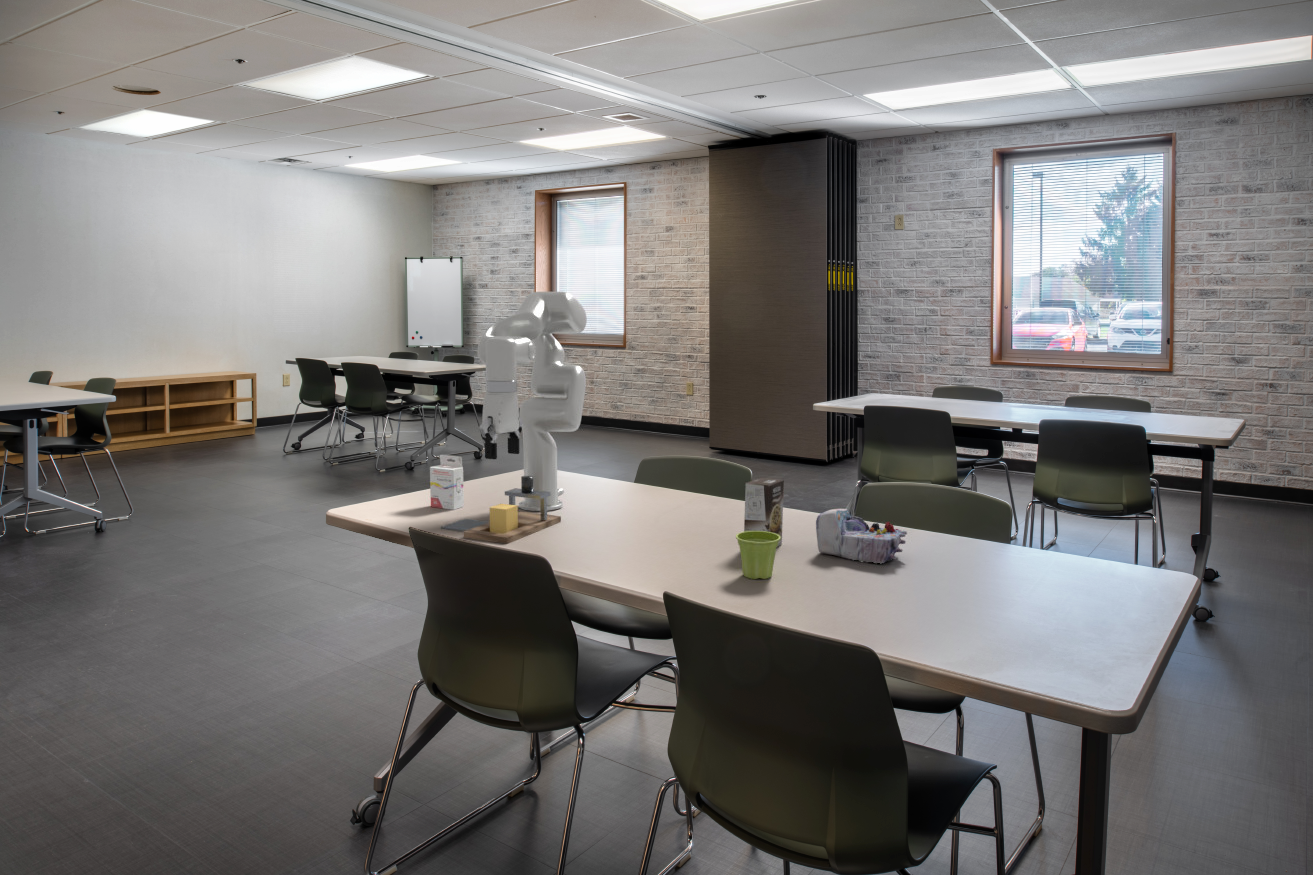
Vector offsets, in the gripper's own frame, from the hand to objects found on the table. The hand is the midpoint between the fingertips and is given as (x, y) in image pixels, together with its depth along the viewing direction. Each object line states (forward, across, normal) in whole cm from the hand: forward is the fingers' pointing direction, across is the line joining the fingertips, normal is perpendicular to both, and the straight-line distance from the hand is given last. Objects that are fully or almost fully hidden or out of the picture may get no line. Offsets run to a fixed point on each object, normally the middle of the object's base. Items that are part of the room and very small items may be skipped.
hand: (502, 456), depth 214 cm
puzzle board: (+20, -5, 0) cm, 20 cm away
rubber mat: (+20, -2, -13) cm, 24 cm away
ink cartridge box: (+20, -18, -32) cm, 42 cm away
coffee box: (+20, -17, +63) cm, 68 cm away
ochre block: (+20, 0, 0) cm, 20 cm away
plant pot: (+20, +6, +69) cm, 72 cm away
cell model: (+20, -19, +86) cm, 90 cm away
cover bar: (+18, -11, 0) cm, 21 cm away
